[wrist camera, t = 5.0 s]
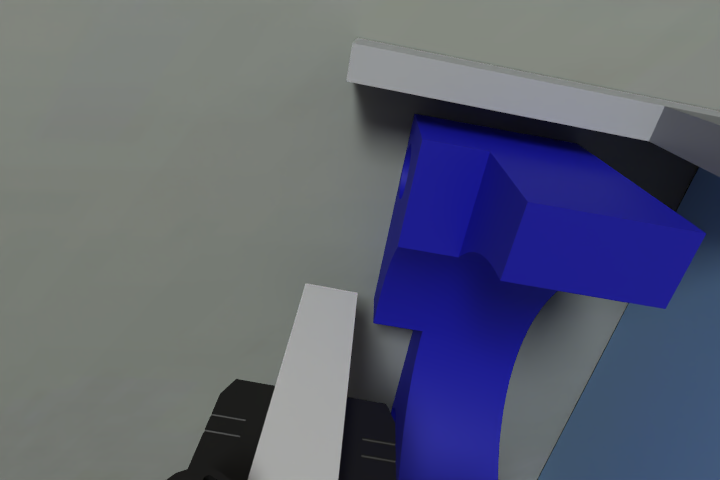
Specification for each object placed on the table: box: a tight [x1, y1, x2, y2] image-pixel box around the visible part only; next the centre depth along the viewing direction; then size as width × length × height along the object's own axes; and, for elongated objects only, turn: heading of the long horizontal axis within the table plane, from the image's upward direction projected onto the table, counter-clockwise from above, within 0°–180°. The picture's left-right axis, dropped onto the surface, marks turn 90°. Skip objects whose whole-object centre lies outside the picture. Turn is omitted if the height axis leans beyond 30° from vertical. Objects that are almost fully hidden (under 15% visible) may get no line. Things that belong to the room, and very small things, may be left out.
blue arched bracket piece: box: [373, 114, 706, 480], centre depth 13 cm, size 12×4×6 cm, turn 170°
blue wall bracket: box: [346, 38, 720, 480], centre depth 13 cm, size 11×16×6 cm
